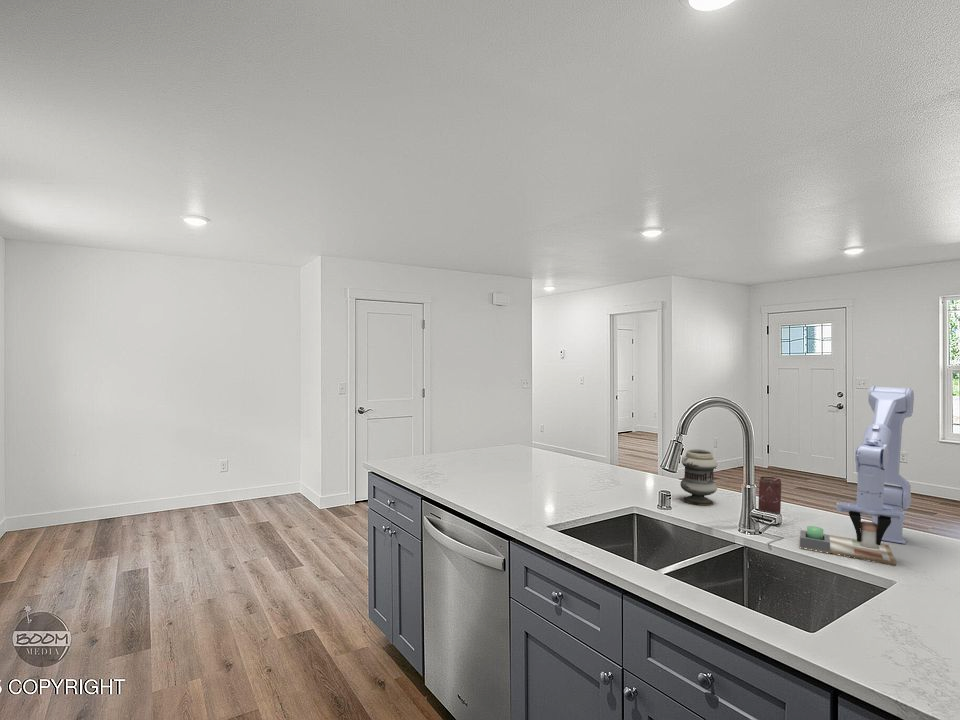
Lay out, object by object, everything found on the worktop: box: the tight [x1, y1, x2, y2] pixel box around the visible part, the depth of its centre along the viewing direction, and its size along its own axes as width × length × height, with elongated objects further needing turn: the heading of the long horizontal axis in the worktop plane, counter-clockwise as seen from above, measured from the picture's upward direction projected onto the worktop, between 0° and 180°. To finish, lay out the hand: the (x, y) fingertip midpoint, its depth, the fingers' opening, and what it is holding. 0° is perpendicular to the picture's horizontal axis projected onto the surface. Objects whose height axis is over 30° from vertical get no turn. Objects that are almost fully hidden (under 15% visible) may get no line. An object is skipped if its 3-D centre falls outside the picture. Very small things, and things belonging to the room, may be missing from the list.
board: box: [799, 529, 897, 567], centre depth 149 cm, size 16×21×1 cm
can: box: [757, 476, 782, 515], centre depth 170 cm, size 6×6×14 cm
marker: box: [860, 520, 878, 549], centre depth 143 cm, size 4×4×6 cm
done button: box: [806, 525, 824, 540], centre depth 149 cm, size 4×4×3 cm
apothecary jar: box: [680, 448, 718, 507], centre depth 192 cm, size 12×12×18 cm
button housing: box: [799, 530, 830, 552], centre depth 149 cm, size 7×7×2 cm
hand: (868, 542), depth 143 cm, fingers closed on marker, 4 cm apart
